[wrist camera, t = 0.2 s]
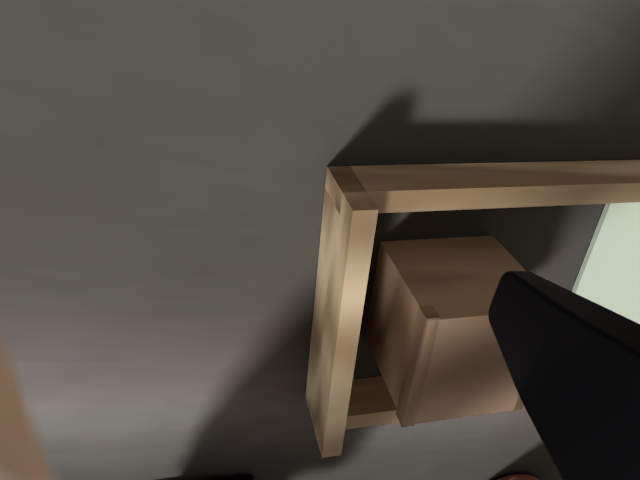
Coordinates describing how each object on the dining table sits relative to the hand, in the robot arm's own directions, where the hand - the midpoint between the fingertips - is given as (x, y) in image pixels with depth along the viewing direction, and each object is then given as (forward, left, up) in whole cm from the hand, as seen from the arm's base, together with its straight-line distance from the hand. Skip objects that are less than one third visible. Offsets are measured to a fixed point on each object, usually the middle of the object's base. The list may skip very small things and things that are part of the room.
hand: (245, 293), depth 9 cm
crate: (-11, -11, -14) cm, 22 cm away
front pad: (-11, -23, -14) cm, 30 cm away
